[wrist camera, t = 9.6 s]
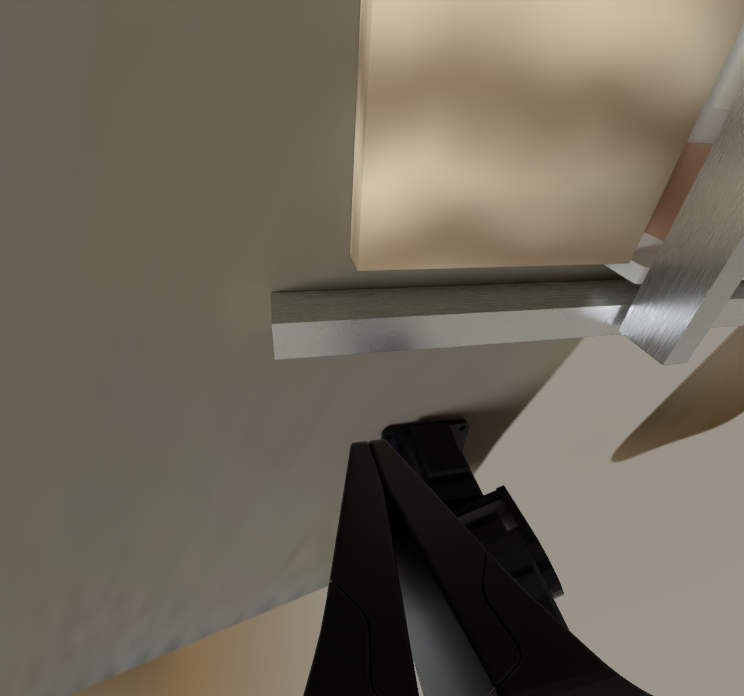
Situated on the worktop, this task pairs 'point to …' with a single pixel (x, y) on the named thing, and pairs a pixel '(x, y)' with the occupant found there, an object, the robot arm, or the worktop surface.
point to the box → (701, 133)
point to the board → (524, 126)
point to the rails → (455, 316)
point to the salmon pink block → (677, 188)
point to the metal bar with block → (696, 255)
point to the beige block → (732, 85)
